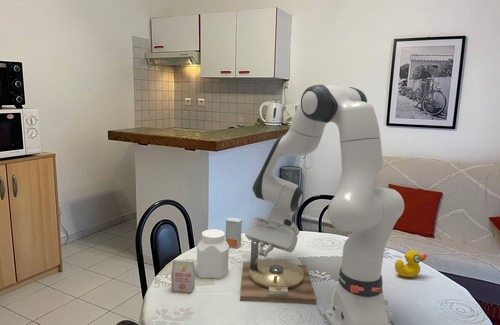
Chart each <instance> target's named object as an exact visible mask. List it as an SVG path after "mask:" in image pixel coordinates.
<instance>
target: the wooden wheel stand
mask: <svg viewBox="0 0 500 325" xmlns="http://www.w3.org/2000/svg"><path fill="white" fill-rule="evenodd" d="M297 265H298V266H299V267H300V268H301V269H302V270H303V273H304V275H303V282H302V283H301V284H300V285H299V286H297V287H295V288H292V289H288V288H287V287H280V286H276V287H270V286H269V289H267V288H264V287H261V286H259V285H257V284H255V283H254V282H253V281H252V280H251V279H250V277H249V269H250V262H242V272H241V273H242V274H241V281H240V282H241V284H240V292H239V293H240V295H239V300H240V301H242V302H262V303H263V302H266V303H286V304H288V303H289V304H303V305H304V304H306V305H317V296H316V293H315V290H314V286H313V284H312V281H311V277H310V274H309V270H308V266H307V265H306V264H297Z"/></svg>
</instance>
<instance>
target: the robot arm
mask: <svg viewBox="0 0 500 325" xmlns="http://www.w3.org/2000/svg"><path fill="white" fill-rule="evenodd" d="M300 98H301V99H300V102H299V104H298V105H297V108H296V109H295V112H294V115H293V117H292V121H291V123H290V126H289V129H288V131H287V132H286V134H284V135H280V136H279V137H278V138H277V139H276V140H275V141H274V143H273V145H272V147H271V149H270V151H269V153H268V154H267V157H266V159H265V161H264V163H263V166H262V167H261V169H260V171H259V174H258V175H257V177H256V178H255V180H254V182H253V185H252V191H253V194H254V196H255V198H257V199H259V200H263V201H265V202H269V203H271V204H272V207H271V209H270V211H269V213H268V214H267V215H266V218H261V217H259V216H257V217H256V218H253V219H252V221H251V223H250V224H249V225H248V227H247V228H246V230H245V231H244V235H245V238H247V239H248V240H249V241H253V240H256V241H258V242H259V246H258V256H261V257H262V256H263V257H264V258H266V257H267V256H268V254H270V253H271V252H272V251H273V250H274V249H277V250H281V251H285V252H288V253H292V252H294V251H295V248H296V246H297V244H298V243H297V242H298V236H299V234H300V229H299V228H298V226H297V224H295V222H294V221H292V219H293V216H294V214H295V213H296V212H297V211H298V210H299V208H300V206H301V204H302V202H303V200H304V192H303V190H302V187H300V185H298V184H296V183H293V182H291V181H288V180H285V179H282V178H281V177H278V176H276V175H274V173H273V172H274V170H275V169H276V167H277V165H278V163H279V161H280V159H281V158H282V157H287V156H289V157H290V156H305V155H309V154H311V153H312V152H315V150H316V149H317V148H318V147H319V144H320V142H321V140H322V137H323V134H324V130H325V127H326V125H327V124H328V123H330V122H331V123H334V124H335V125H336V127H337V128H338V132H339V144H340V154H341V155H340V158H341V174H340V181H339V185H338V188H337V191H336V193H335V195H334V196H333V198H332V199H331V200H330V201H329V204H328V206H327V208H328V209H327V215H328V216H327V217H328V219H329V222H330V223H331V225H332V226H333V228H335V229H336V230H337V231H340V232H346V233H347V232H348V233H350V234H351V232H352V234H351V235H350V234H349V235H350V236H348V238H347V239H346V240H345V242H344V244H343V248H342V260H341V266H340V268H339V273H338V284H337V285H336V286H335V287H334V288H332V289H333V290H332V295H331V300H330V301H331V302H330V308H328V309H326V310H325V311H324V316H325V318H326V319H327V321H328V323H329V324H330V325H392V324H391V321H393V316H394V315H393V312H392V311H390V310H387V306H388V305H389V304H388V303H389V302H388V300H387V299H385V295H384V290H383V275H382V269H383V268H382V267H383V263H384V262H383V261H384V260H383V259H384V255H385V249H386V247H387V243H388V240H389V238H390V235H391V233H392V231H393V229H394V226H395V224H396V223H397V222H398V220H399V218H401V216H402V215H403V213H404V210H405V201H404V198H403V197H402V194H400V193H399V192H398V191H397V190H396V189H394V188H388V187H382V186H376V180H377V178H378V175H379V173H380V172H381V171H382V169H383V166H384V160H383V159H384V158H383V149H382V141H381V133H380V132H381V130H380V127H379V121H378V118H377V115H376V111H375V109H374V107H373V106H372V105H371V104H370V103H369V102H368V98H367V95H366V94H365V93H364V92H363V91H362V90H360V89H358V88H355V87H353V86H352V87H351V86H349V87H348V86H344V85H338V84H315V85H311V86H309V87H307V88H306V89H305V90H304V91H303V93H302V95H301V97H300ZM375 186H376V187H375ZM265 246H267V247H266V249H264V248H265Z"/></svg>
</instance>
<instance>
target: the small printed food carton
mask: <svg viewBox="0 0 500 325" xmlns="http://www.w3.org/2000/svg"><path fill="white" fill-rule="evenodd" d="M171 269H172V270H171V292H172V293H181V294H182V293H183V294H193V292H194V290H195V286H196V281H195V280H196V279H195V278H196V270H195V262H194V261H189V260H188V261H186V260H173V261H172V268H171Z"/></svg>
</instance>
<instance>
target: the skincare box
mask: <svg viewBox="0 0 500 325" xmlns="http://www.w3.org/2000/svg"><path fill="white" fill-rule="evenodd" d="M242 224H243V219H242V218H239V217H238V218H237V217H230V216H229V217H228V218H227V219H226V220H225V240H226V242H227V243H228V245H229V248H235V249H239V248H240V246H241V245H242V228H243V226H242Z"/></svg>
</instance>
